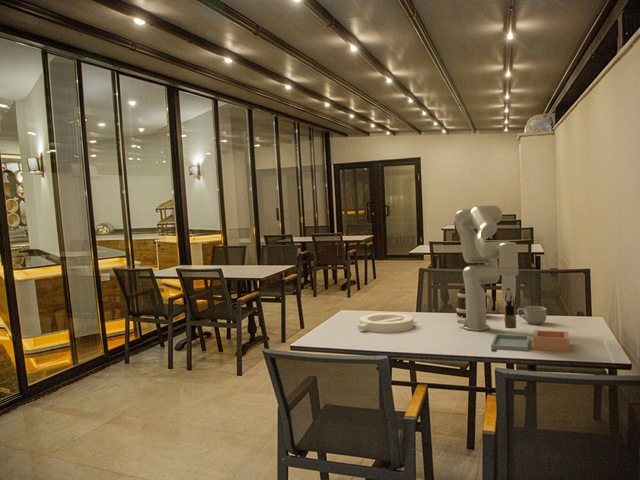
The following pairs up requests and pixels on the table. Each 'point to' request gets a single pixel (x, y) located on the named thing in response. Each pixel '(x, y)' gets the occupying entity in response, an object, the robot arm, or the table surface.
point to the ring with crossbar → (386, 322)
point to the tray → (510, 342)
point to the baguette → (510, 317)
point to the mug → (462, 303)
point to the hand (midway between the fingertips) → (510, 313)
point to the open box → (551, 340)
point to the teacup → (533, 314)
